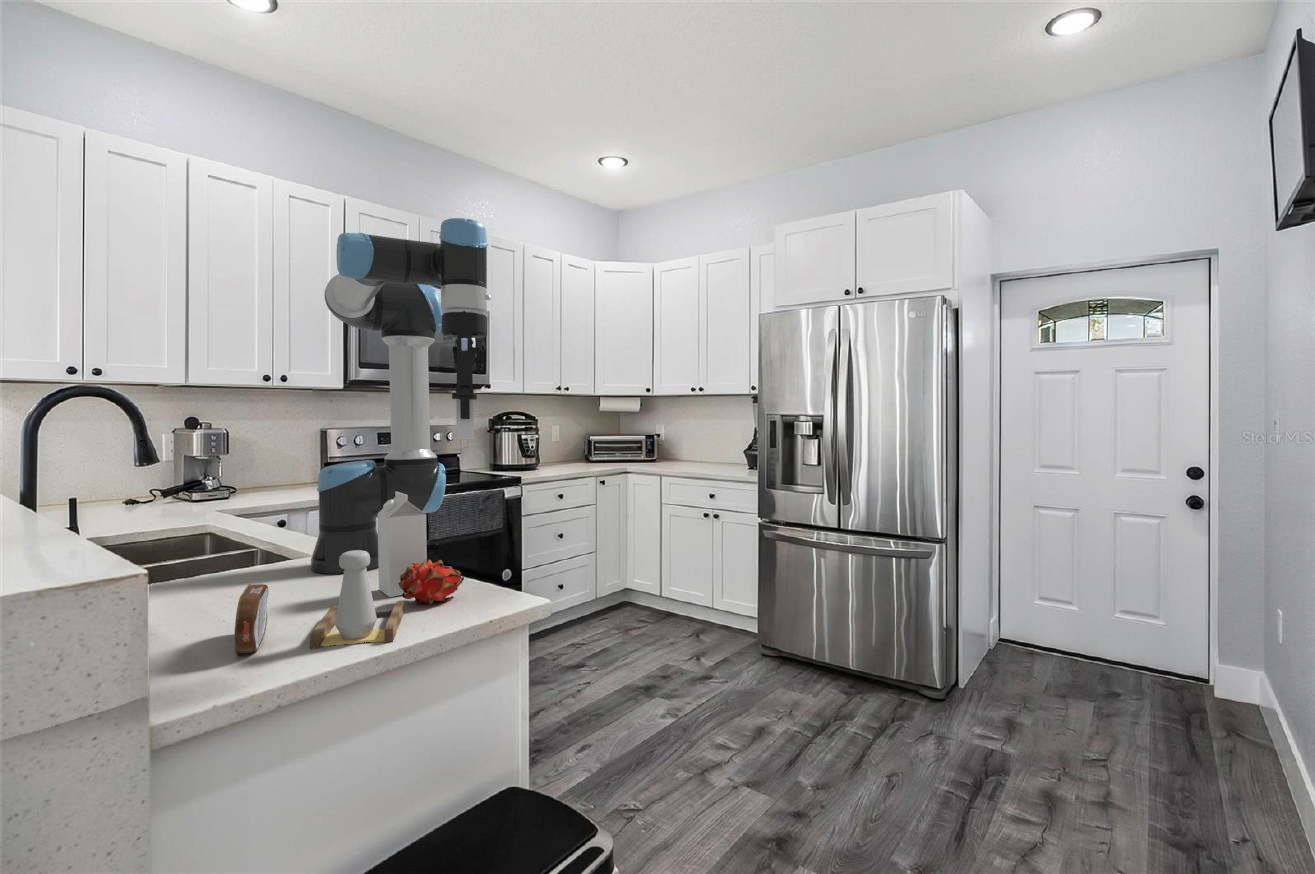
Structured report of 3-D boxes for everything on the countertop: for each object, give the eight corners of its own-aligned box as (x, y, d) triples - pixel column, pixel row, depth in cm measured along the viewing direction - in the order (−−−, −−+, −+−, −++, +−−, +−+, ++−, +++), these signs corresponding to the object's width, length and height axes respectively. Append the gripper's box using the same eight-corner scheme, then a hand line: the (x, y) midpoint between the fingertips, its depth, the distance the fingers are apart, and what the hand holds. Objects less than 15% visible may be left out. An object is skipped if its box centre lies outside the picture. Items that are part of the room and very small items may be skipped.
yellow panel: (327, 635, 104) (327, 633, 104) (388, 630, 106) (388, 628, 106) (320, 646, 99) (320, 644, 99) (384, 641, 101) (384, 638, 101)
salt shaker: (360, 643, 99) (359, 556, 99) (326, 641, 101) (324, 555, 100) (384, 630, 105) (382, 548, 105) (351, 628, 106) (350, 547, 106)
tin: (249, 630, 107) (247, 578, 106) (271, 628, 108) (270, 576, 108) (232, 663, 93) (230, 603, 93) (258, 660, 94) (256, 600, 94)
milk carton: (415, 584, 135) (414, 490, 134) (427, 591, 129) (425, 493, 128) (378, 590, 130) (376, 492, 130) (389, 598, 125) (387, 496, 124)
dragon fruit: (392, 615, 119) (458, 614, 126) (405, 596, 114) (474, 595, 121) (391, 571, 124) (455, 572, 131) (403, 550, 118) (470, 552, 125)
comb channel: (331, 618, 113) (331, 606, 113) (403, 612, 116) (403, 601, 116) (310, 648, 98) (309, 635, 98) (393, 641, 101) (392, 628, 101)
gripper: (488, 303, 103) (489, 441, 104) (485, 322, 127) (486, 434, 128) (437, 301, 101) (439, 441, 102) (444, 321, 125) (445, 434, 126)
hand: (465, 437), depth 115 cm, fingers open, 13 cm apart
